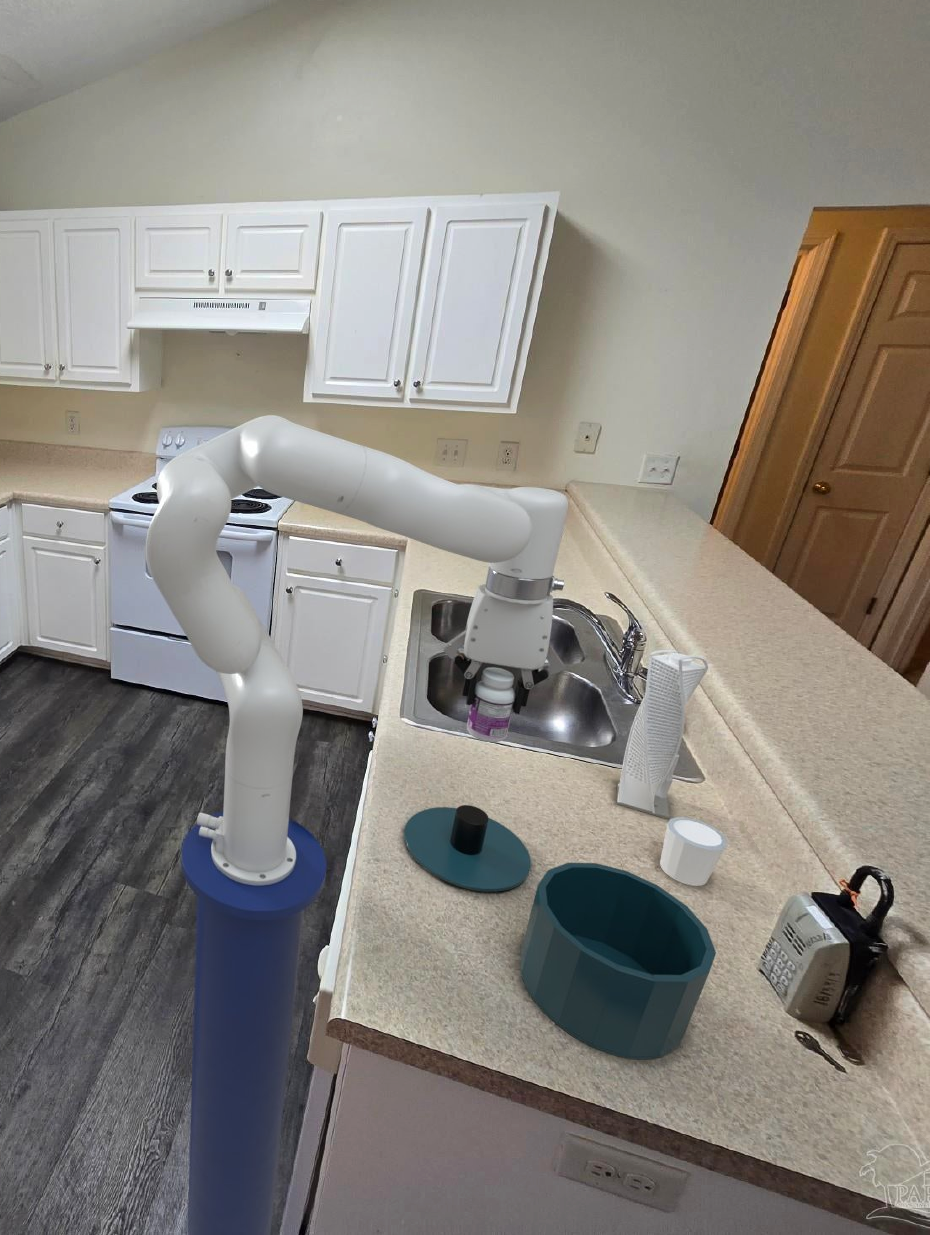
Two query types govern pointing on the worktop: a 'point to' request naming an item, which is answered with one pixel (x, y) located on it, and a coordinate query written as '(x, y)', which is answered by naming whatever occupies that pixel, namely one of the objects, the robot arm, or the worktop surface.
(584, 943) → the pot
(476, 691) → the pill bottle
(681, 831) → the white cylinder
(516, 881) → the lid
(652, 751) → the skyscraper
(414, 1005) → the worktop surface
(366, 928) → the worktop surface
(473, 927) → the worktop surface
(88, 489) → the worktop surface
